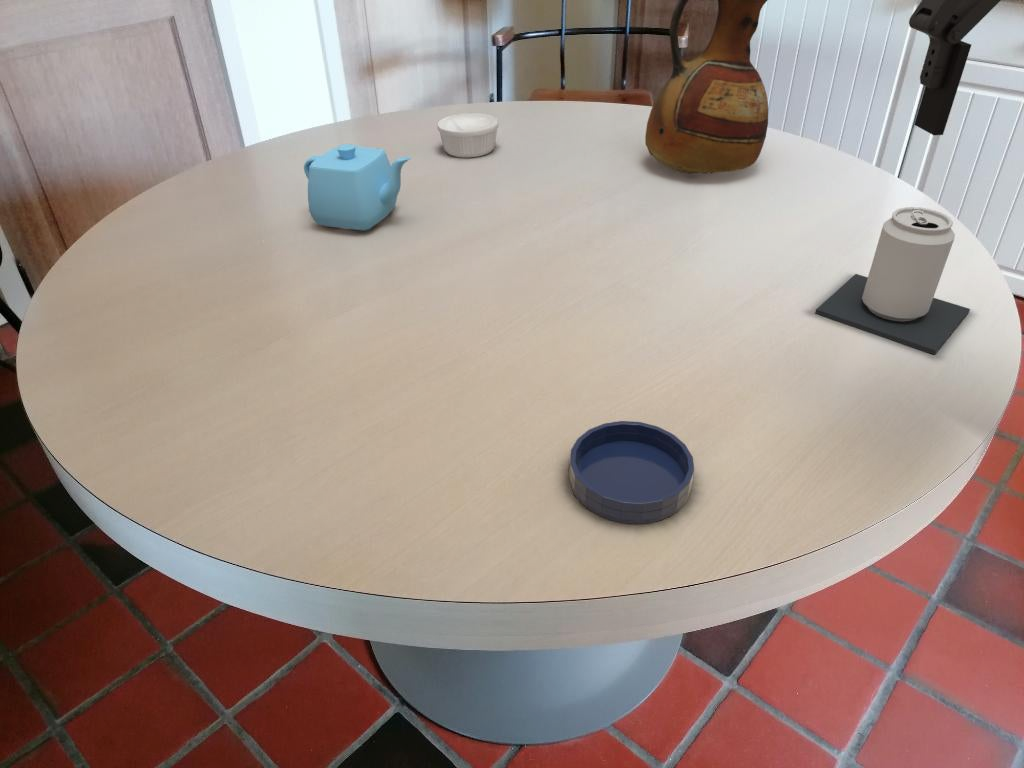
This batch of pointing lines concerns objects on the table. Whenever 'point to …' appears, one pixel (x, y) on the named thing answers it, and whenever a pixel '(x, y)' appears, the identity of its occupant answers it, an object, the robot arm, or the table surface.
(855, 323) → the mat
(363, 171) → the teapot
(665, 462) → the dish
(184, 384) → the table surface
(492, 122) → the ramekin
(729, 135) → the ceramic pitcher
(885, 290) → the can
